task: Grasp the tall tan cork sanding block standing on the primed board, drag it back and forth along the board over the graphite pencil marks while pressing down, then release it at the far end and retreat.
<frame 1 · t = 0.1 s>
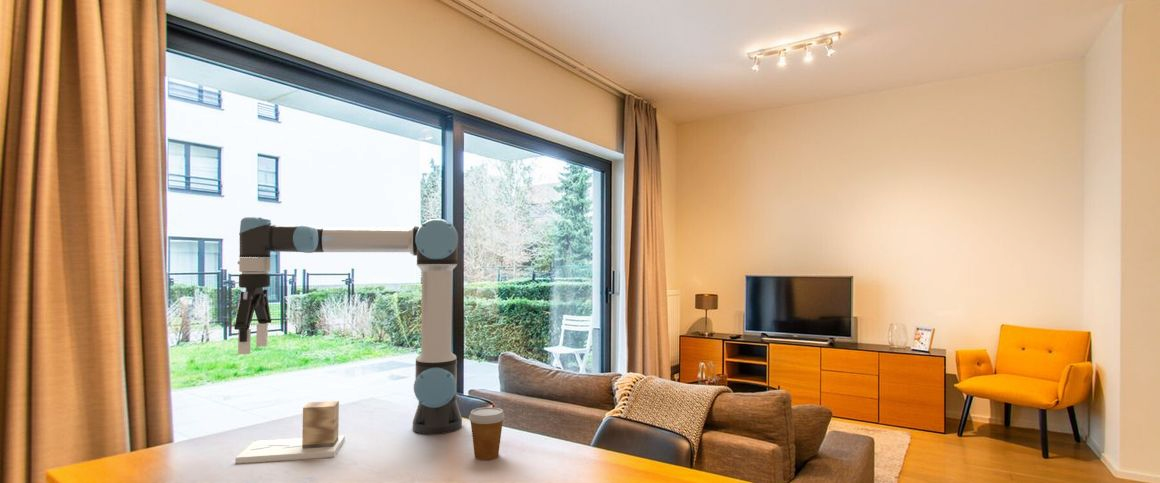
hand: (253, 350, 158), 28 cm above the table, fingers open, 13 cm apart
sanding block: (320, 444, 159), point 2 cm above the table, touching board
disposable coffee cup: (486, 457, 153), on the table
board: (293, 451, 157), on the table
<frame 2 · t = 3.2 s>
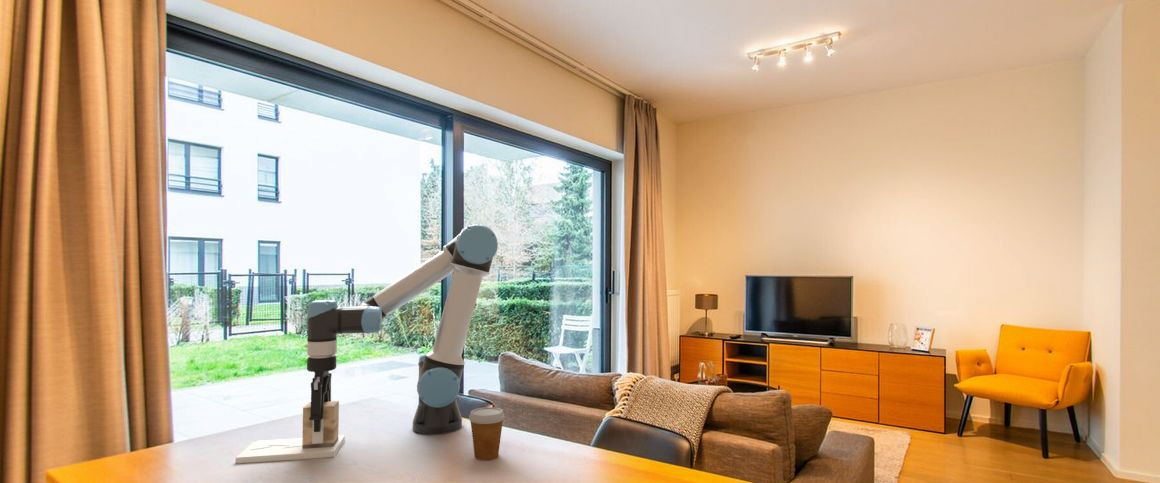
hand: (320, 439, 159), 3 cm above the table, fingers closed on sanding block, 6 cm apart
sanding block: (320, 444, 159), point 2 cm above the table, touching board, gripper
everything else where it was.
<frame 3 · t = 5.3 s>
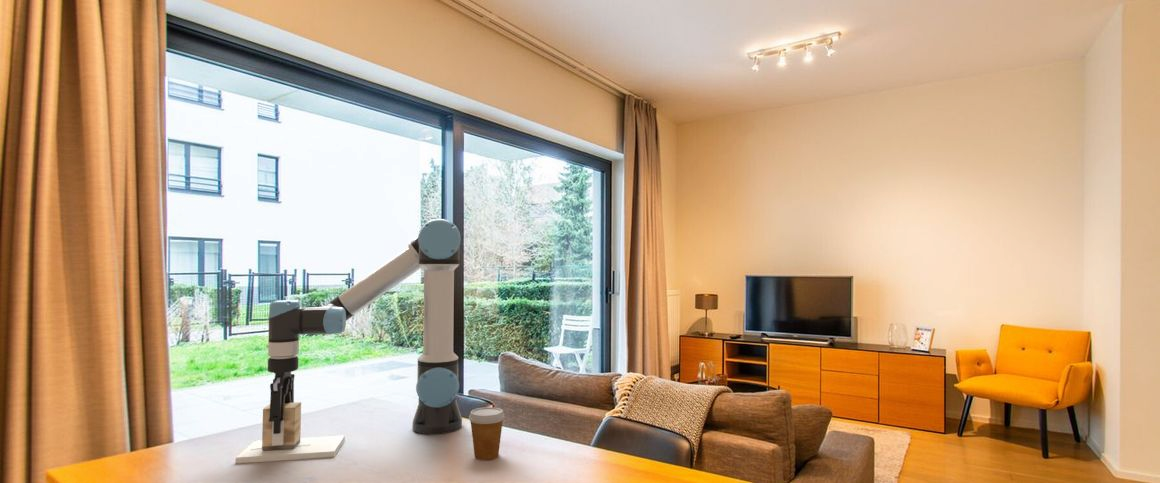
hand: (281, 440, 157), 3 cm above the table, fingers closed on sanding block, 6 cm apart
sanding block: (281, 445, 157), point 2 cm above the table, touching gripper
everything else where it was.
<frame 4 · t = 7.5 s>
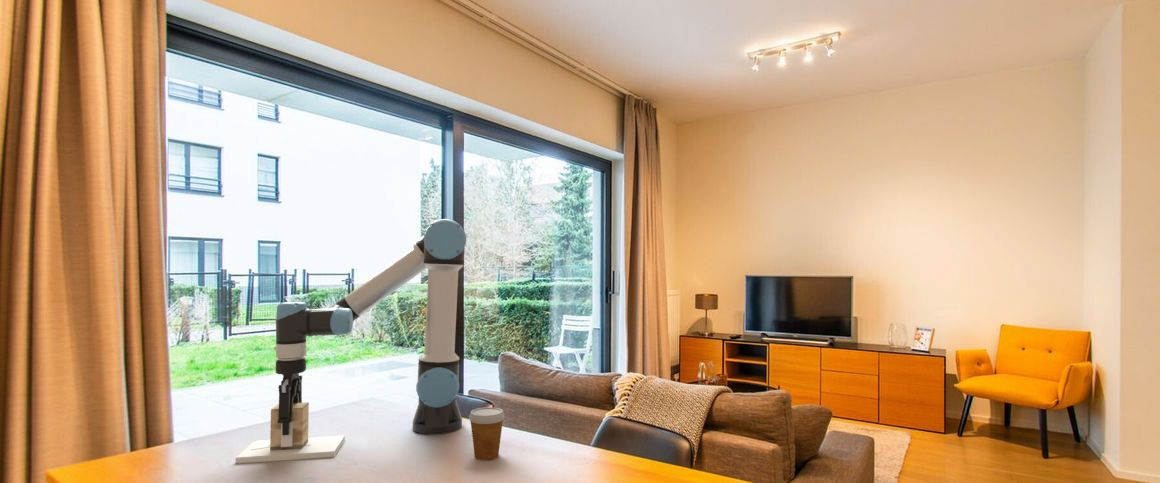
hand: (290, 442, 157), 3 cm above the table, fingers closed on sanding block, 6 cm apart
sanding block: (289, 445, 157), point 2 cm above the table, touching gripper
everything else where it was.
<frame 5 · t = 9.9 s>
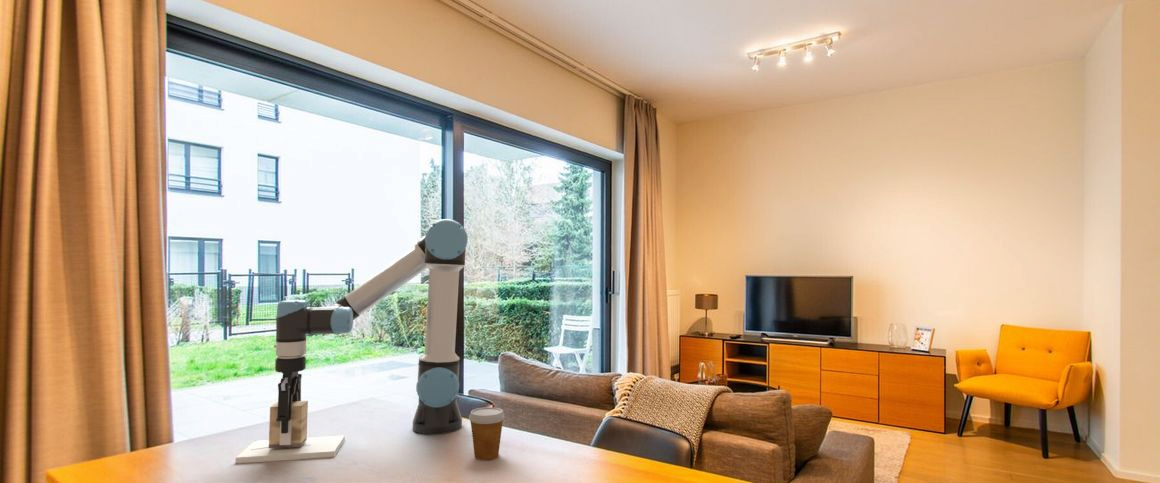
hand: (289, 440, 157), 3 cm above the table, fingers closed on sanding block, 6 cm apart
sanding block: (288, 444, 157), point 2 cm above the table, touching gripper
everything else where it was.
when the fingers open (3 cm above the table, at t = 12.0 s): sanding block stays where it is, resting on board.
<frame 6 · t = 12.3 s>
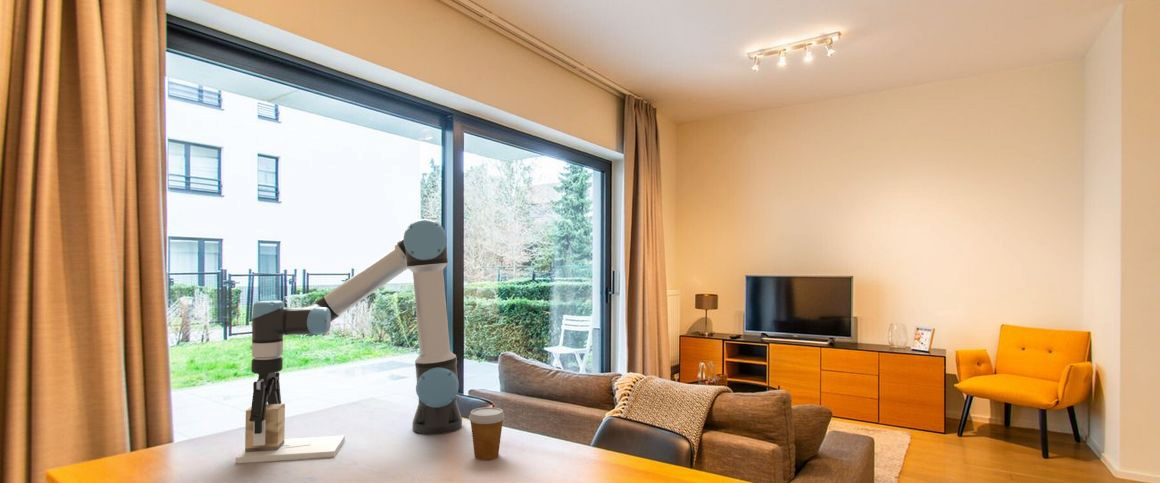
hand: (266, 438, 156), 4 cm above the table, fingers open, 10 cm apart
sanding block: (265, 447, 156), point 2 cm above the table, touching board
everything else where it was.
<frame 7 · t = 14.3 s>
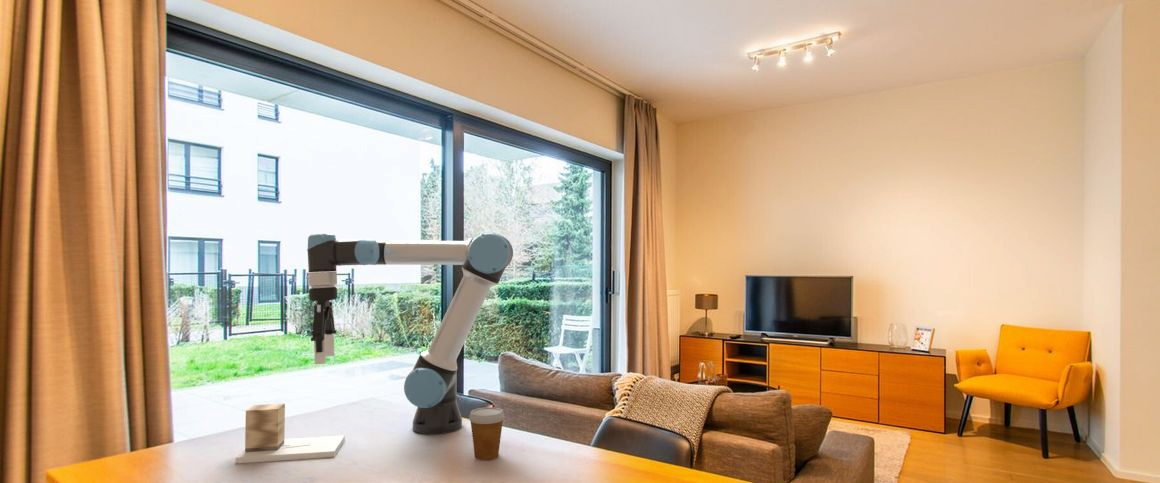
hand: (325, 360, 166), 24 cm above the table, fingers open, 13 cm apart
nothing on the table moved.
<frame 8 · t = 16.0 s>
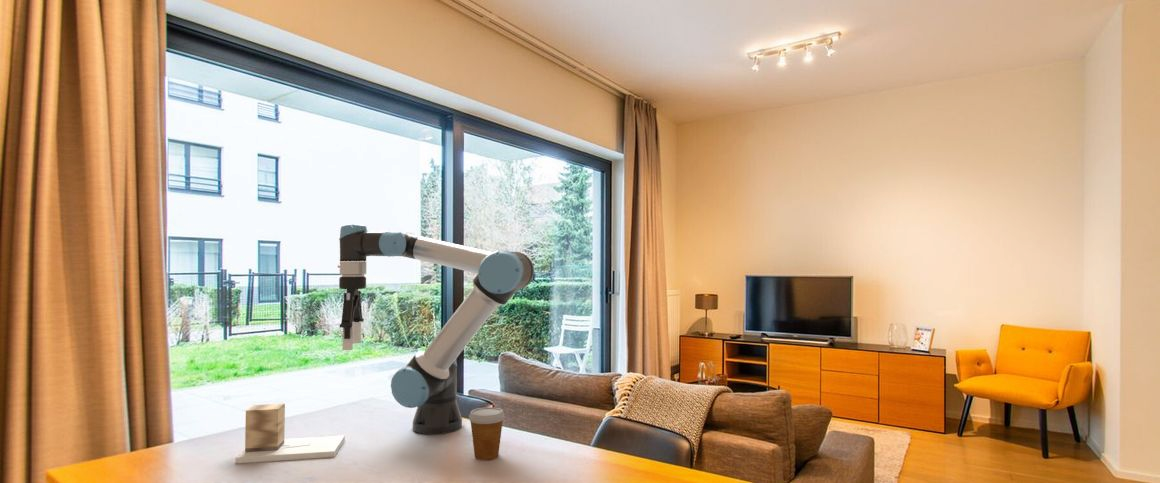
hand: (352, 346, 172), 27 cm above the table, fingers open, 13 cm apart
nothing on the table moved.
at the end: sanding block inside the target area on the board (0.8 cm from its centre), point 1.5 cm above the board's base; sanding block tilted 0°; the gripper is holding nothing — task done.
